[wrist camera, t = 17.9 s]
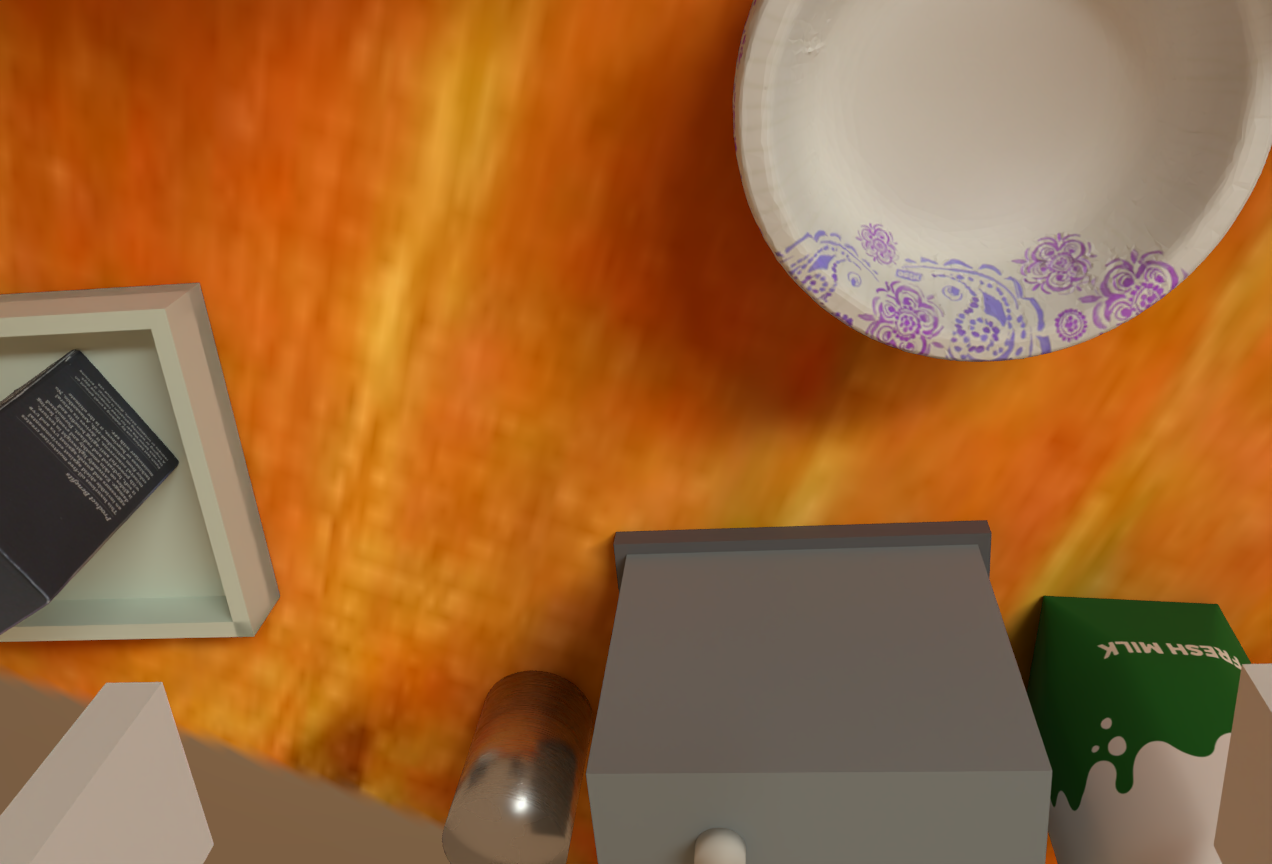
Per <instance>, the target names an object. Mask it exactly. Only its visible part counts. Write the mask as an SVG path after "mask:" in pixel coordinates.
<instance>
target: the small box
mask: <svg viewBox="0 0 1272 864" xmlns="http://www.w3.org/2000/svg"><path fill="white" fill-rule="evenodd" d="M178 464H179V461H178V459H177V458H176V457H175V456H174V454H173V453H172V452H171V451H170V450H169V449H168V447H167V446H165V444H164V443H163V442H162V441H161V440H160V439H159V437H158V436H157V435H156V434H155V433H154V432H153V431H152V430H151V428H150V427H149V426H148V425H147V424H146V423H145V422H144V421H143V419H142V418H141V417H140V416H139V415H138V414H137V413H136V412H135V410H134V409H133V408H132V407H131V406H130V405H129V404H128V403H127V402H126V401H125V400H124V398H123V397H122V396H121V395H120V394H119V393H118V392H117V391H116V389H115V388H114V387H113V386H112V385H111V384H110V383H109V382H108V381H107V380H106V379H105V377H104V376H103V375H102V374H101V373H100V372H99V370H98V369H97V368H96V367H95V366H94V365H93V364H92V363H91V362H90V361H89V360H88V358H87V357H86V356H85V355H84V354H83V353H82V352H81V351H79V350H76V349H74V350H71V351H70V352H68V353H67V354H66V355H64V356H63V357H62V358H60V359H59V360H57V361H56V362H54V363H53V364H51V365H50V366H49V367H47V368H46V369H45V370H43V371H42V372H41V373H39V374H38V375H37V376H35V377H34V378H32V379H31V380H30V381H28V382H27V383H25V384H24V385H23V386H21V387H20V388H18V389H16V390H14V392H13V393H11V394H10V395H9V396H7V397H6V398H5V399H3V400H2V401H0V635H1V634H3V633H4V632H6V631H7V630H9V629H11V628H12V627H14V626H15V625H17V624H18V623H20V622H22V621H23V620H25V619H26V618H28V617H29V616H31V615H33V614H34V613H36V612H37V611H39V610H40V609H42V608H43V607H45V606H46V605H48V604H49V603H50V602H51V601H52V600H53V598H54V597H55V596H57V595H58V594H59V592H60V591H61V590H62V589H63V588H64V587H65V586H66V585H67V584H68V583H69V581H70V580H71V579H72V578H73V577H74V576H75V575H76V574H77V573H78V572H79V571H80V570H81V569H82V568H83V567H84V566H85V565H86V564H87V563H88V562H89V561H90V560H91V558H92V557H93V556H94V555H95V554H96V553H97V552H98V551H99V550H100V549H101V547H102V546H103V545H104V544H105V543H106V542H107V541H108V540H109V539H110V538H111V537H112V536H113V535H114V533H115V532H116V531H117V530H118V529H119V528H120V527H121V526H122V525H123V524H124V523H125V522H126V521H127V520H128V519H129V518H130V517H131V515H132V514H133V513H134V512H135V511H136V510H137V509H138V508H139V507H140V506H141V505H142V504H143V503H144V502H145V501H146V499H147V498H148V497H149V496H150V495H151V494H152V493H153V492H154V491H155V490H156V489H157V488H158V487H159V486H160V484H161V483H162V482H163V481H164V480H165V479H166V478H167V477H168V476H169V475H170V474H171V473H172V471H173V470H174V469H175V468H176V467H177V466H178Z"/></svg>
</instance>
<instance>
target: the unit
mask: <svg viewBox="0 0 1272 864" xmlns="http://www.w3.org/2000/svg"><path fill="white" fill-rule="evenodd" d="M990 551H991V531H990V528H989V525H988V522H987V520H986V521H954V522H922V523H890V524H858V525H826V526H794V527H762V528H730V529H698V530H666V531H634V532H616V535H615V540H614V552H615V561H616V570H617V579H618V588H619V599H618V605H617V610H616V615H615V621H614V626H613V631H612V637H611V642H610V648H609V653H608V658H607V664H606V669H605V674H604V680H603V685H602V690H601V696H600V701H599V706H598V712H597V717H596V722H595V728H594V733H593V739H592V744H591V749H590V755H589V760H588V765H587V771H586V778H587V786H588V793H589V800H590V808H591V815H592V822H593V830H594V837H595V844H596V851H597V859H598V864H1045V859H1046V846H1047V833H1048V820H1049V807H1050V795H1051V782H1052V768H1051V765H1050V762H1049V759H1048V756H1047V753H1046V750H1045V747H1044V744H1043V741H1042V738H1041V735H1040V732H1039V729H1038V726H1037V723H1036V720H1035V717H1034V714H1033V711H1032V708H1031V705H1030V702H1029V698H1028V695H1027V692H1026V689H1025V686H1024V683H1023V680H1022V677H1021V674H1020V671H1019V668H1018V665H1017V662H1016V659H1015V656H1014V653H1013V650H1012V647H1011V644H1010V641H1009V638H1008V635H1007V632H1006V629H1005V626H1004V623H1003V619H1002V616H1001V613H1000V610H999V607H998V604H997V601H996V598H995V595H994V592H993V589H992V586H991V583H990V580H989V573H990Z"/></svg>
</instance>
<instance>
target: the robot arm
mask: <svg viewBox="0 0 1272 864" xmlns="http://www.w3.org/2000/svg"><path fill="white" fill-rule="evenodd" d="M213 845H214V843H213V840H212V837H211V834H210V831H209V827H208V825H207V821H206V818H205V815H204V812H203V809H202V806H201V802H200V799H199V796H198V793H197V790H196V787H195V784H194V780H193V777H192V774H191V771H190V768H189V765H188V762H187V758H186V756H185V752H184V749H183V746H182V743H181V740H180V736H179V733H178V730H177V727H176V724H175V721H174V718H173V715H172V711H171V708H170V705H169V702H168V699H167V696H166V693H165V689H164V686H163V683H162V682H138V683H106V684H105V685H104V686H103V688H102V689H101V690H100V691H99V693H98V694H97V695H96V696H95V698H94V699H93V700H92V701H91V703H90V704H89V705H88V706H87V708H86V709H85V710H84V711H83V713H82V714H81V715H80V716H79V718H78V719H77V720H76V721H75V723H74V724H73V725H72V727H71V728H70V729H69V730H68V732H67V733H66V734H65V735H64V737H63V738H62V739H61V740H60V742H59V743H58V744H57V745H56V747H55V748H54V749H53V750H52V752H51V753H50V754H49V755H48V757H47V758H46V759H45V760H44V762H43V763H42V764H41V765H40V767H39V768H38V769H37V771H36V772H35V773H34V774H33V775H32V777H31V778H30V779H29V781H28V782H27V783H26V784H25V785H24V787H23V788H22V789H21V791H20V792H19V793H18V794H17V796H16V797H15V798H14V799H13V801H12V802H11V803H10V804H9V806H8V807H7V808H6V810H5V811H4V812H3V813H2V814H1V816H0V864H203V863H204V861H205V859H206V858H207V856H208V854H209V852H210V850H211V849H212V847H213ZM1214 847H1215V850H1216V852H1217V854H1218V856H1219V858H1220V860H1221V862H1222V864H1272V664H1242V668H1241V674H1240V681H1239V687H1238V693H1237V700H1236V706H1235V712H1234V719H1233V725H1232V731H1231V738H1230V744H1229V750H1228V757H1227V763H1226V769H1225V776H1224V782H1223V788H1222V795H1221V801H1220V807H1219V814H1218V820H1217V826H1216V833H1215V839H1214Z"/></svg>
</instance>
